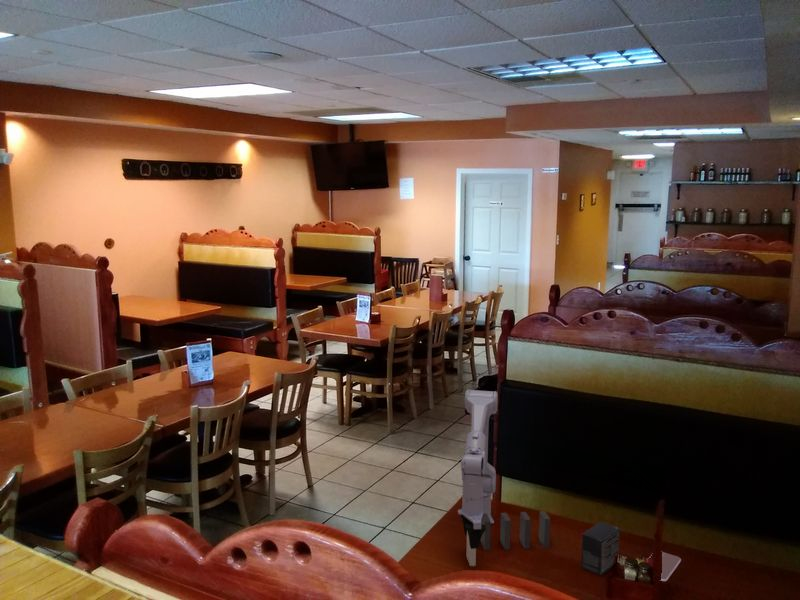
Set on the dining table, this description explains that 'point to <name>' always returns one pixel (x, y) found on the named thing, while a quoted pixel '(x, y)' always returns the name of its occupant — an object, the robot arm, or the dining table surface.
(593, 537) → the small box
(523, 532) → the grey domino
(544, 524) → the grey domino
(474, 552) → the ivory domino
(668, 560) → the mobile phone
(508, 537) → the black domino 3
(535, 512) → the dining table surface
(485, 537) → the grey domino
